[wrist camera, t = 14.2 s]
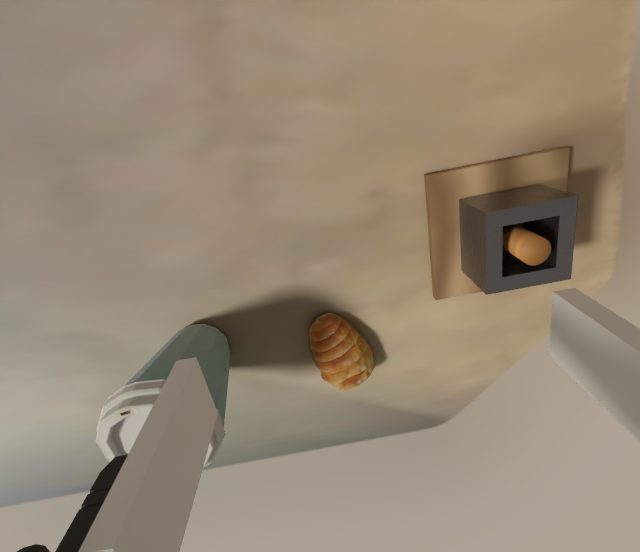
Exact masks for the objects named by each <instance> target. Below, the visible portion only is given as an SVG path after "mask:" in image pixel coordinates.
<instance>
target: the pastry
mask: <svg viewBox="0 0 640 552" xmlns="http://www.w3.org/2000/svg"><path fill="white" fill-rule="evenodd" d="M308 333H309V338H310V348H311V350H312V353H313V360H314V363H315V365H316V366H317V367H318V368H319V369H320V370H321V372H322V378H323V379H324V380H325V381H327V382H328V383H330V384H332V385H333V386H335V387H337V388H339V389H340V390H347V389H351V388H353V387H356V386H358V385H360V384H361V383H362V382H363V381H364V380H366V379H367V378H368V377H369V376H370V375H371V373H372V371H373V369H374V366H375V363H374V360H373V352H372V349H371V347H370V346H369V345H368V344H367V342H366V341H365V340H364V338H363V337H362V336H361V335H360V334H359V333H358V332H357V331H356V330H355V329H354V328H353V327H352V326H351V325H350V324H349V323H348V322H347V321H346V320H345V319H343V318H342V317H340V316H338V315H336V314H334V313H326V314H323V315H321V316H319V317H318V318H317V319H316V320H315V321H314V322H313V324H312V326H311V328H310V329H309V332H308Z"/></svg>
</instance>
